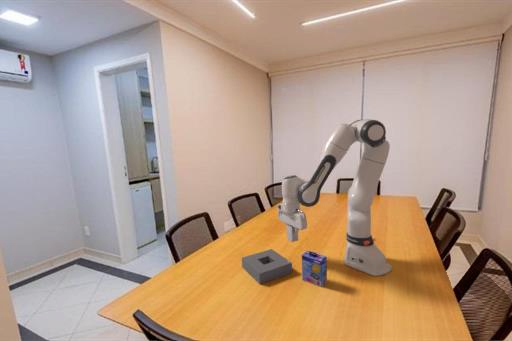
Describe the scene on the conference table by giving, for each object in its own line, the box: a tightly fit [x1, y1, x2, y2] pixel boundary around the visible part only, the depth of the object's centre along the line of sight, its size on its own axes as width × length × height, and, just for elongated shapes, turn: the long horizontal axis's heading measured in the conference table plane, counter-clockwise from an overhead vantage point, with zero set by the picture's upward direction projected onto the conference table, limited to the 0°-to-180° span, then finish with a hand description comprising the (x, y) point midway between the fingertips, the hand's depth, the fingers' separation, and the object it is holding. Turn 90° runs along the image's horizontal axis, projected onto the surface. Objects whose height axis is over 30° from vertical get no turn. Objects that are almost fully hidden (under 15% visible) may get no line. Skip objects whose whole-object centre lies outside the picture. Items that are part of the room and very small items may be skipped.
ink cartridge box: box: [301, 250, 328, 288], centre depth 110 cm, size 10×6×14 cm, turn 51°
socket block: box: [241, 248, 293, 285], centre depth 121 cm, size 18×18×5 cm
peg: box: [286, 225, 299, 243], centre depth 127 cm, size 4×4×8 cm
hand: (292, 233), depth 127 cm, fingers closed on peg, 4 cm apart
